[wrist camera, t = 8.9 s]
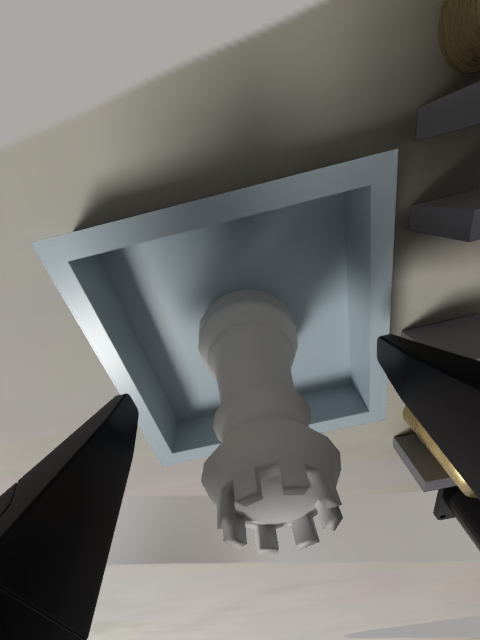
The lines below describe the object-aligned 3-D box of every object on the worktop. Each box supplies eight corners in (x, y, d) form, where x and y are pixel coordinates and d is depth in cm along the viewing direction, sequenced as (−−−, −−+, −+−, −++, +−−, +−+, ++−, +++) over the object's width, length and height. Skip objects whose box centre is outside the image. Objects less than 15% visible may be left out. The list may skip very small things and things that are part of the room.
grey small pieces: (451, 434, 18) (492, 478, 15) (393, 446, 18) (423, 492, 15) (589, -180, 7) (838, -431, 4) (435, -133, 7) (574, -344, 4)
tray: (360, 385, 15) (385, 419, 13) (171, 426, 15) (162, 466, 13) (357, 158, 10) (398, 148, 8) (72, 232, 10) (30, 242, 8)
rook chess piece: (308, 303, 12) (441, 473, 5) (269, 376, 14) (322, 581, 6) (216, 271, 11) (208, 422, 4) (187, 354, 13) (143, 566, 5)
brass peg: (447, 419, 17) (517, 490, 13) (401, 429, 17) (456, 502, 13) (453, 385, 15) (534, 453, 11) (404, 396, 16) (467, 466, 12)
